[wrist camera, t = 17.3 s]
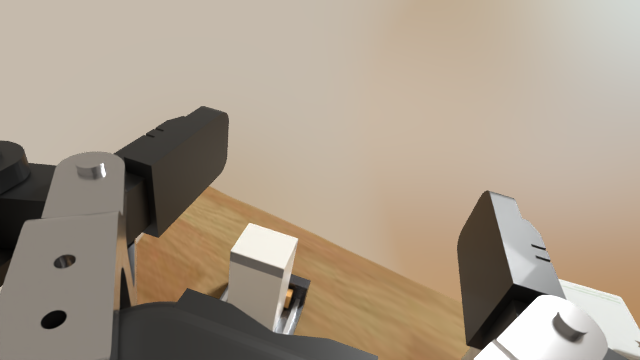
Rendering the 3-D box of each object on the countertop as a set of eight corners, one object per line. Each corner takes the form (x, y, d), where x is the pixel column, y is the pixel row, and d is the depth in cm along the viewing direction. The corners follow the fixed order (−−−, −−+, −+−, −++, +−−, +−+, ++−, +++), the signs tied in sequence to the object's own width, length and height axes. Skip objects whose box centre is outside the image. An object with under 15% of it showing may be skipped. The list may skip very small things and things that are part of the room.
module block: (283, 308, 40) (298, 238, 34) (270, 339, 37) (284, 269, 31) (242, 294, 41) (249, 222, 34) (226, 323, 37) (230, 250, 31)
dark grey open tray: (304, 302, 42) (310, 280, 40) (254, 443, 30) (258, 423, 28) (235, 278, 43) (237, 255, 41) (158, 404, 31) (155, 382, 29)
